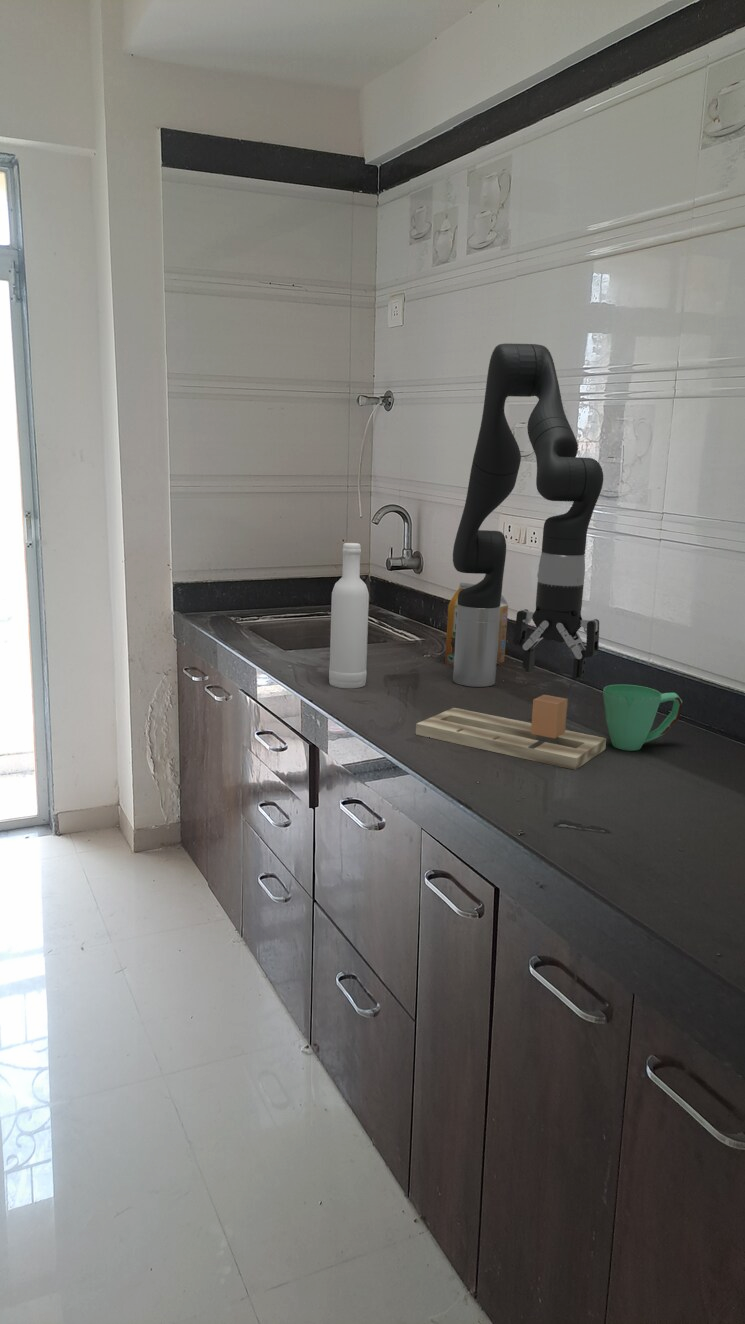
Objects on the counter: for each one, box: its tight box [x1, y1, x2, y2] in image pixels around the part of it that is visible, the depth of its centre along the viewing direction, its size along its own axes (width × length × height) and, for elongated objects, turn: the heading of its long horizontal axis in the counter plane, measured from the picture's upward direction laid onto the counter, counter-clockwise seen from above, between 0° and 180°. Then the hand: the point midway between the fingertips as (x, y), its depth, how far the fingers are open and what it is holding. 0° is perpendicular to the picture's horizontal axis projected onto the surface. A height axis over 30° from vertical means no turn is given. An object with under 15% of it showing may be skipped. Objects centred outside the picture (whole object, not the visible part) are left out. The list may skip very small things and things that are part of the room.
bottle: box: [328, 542, 370, 689], centre depth 200 cm, size 8×8×30 cm
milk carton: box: [444, 581, 509, 666], centre depth 227 cm, size 10×11×19 cm
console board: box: [415, 707, 607, 771], centre depth 167 cm, size 14×30×2 cm, turn 57°
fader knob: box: [530, 694, 568, 744], centre depth 162 cm, size 4×4×9 cm
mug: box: [602, 684, 683, 752], centre depth 167 cm, size 15×10×10 cm
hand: (552, 675), depth 161 cm, fingers open, 8 cm apart
